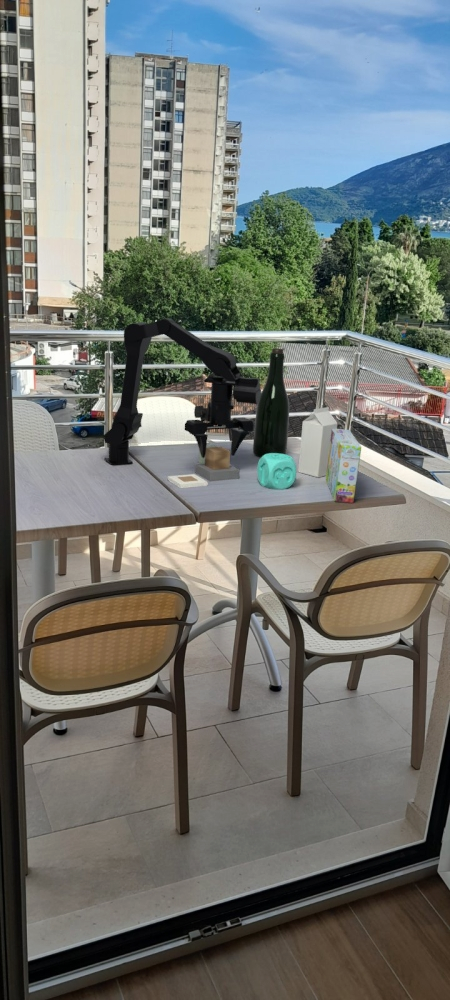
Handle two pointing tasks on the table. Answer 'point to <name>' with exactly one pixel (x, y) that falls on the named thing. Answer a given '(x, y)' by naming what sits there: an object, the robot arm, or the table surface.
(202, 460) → the sage cube
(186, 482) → the tile
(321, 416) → the milk carton
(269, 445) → the green wine bottle
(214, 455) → the walnut cube
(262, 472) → the decorative dice
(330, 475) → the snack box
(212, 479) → the charcoal base block
